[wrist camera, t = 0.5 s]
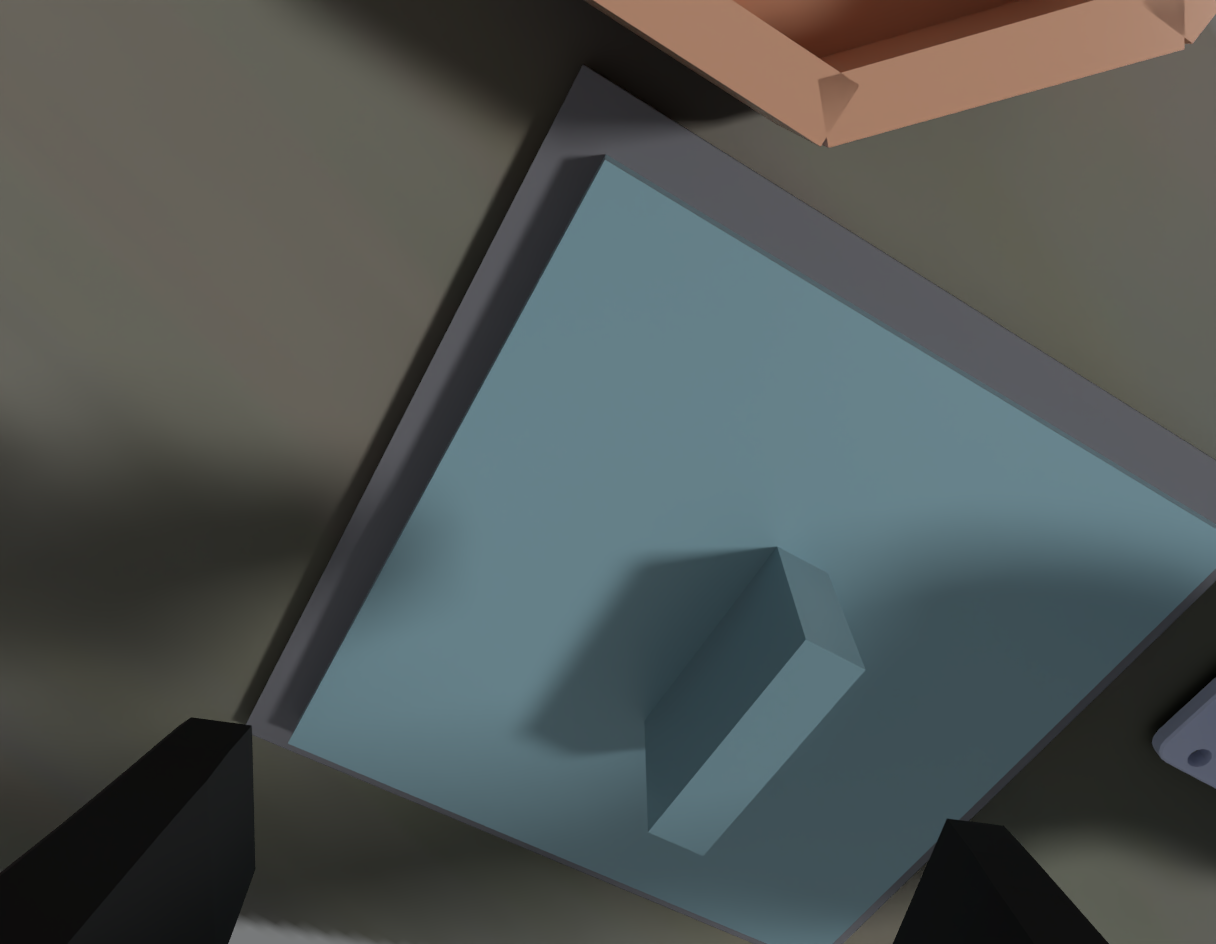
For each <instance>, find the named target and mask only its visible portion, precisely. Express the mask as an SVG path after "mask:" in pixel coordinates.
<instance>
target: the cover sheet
mask: <svg viewBox="0 0 1216 944" xmlns="http://www.w3.org/2000/svg"><path fill="white" fill-rule="evenodd" d="M1215 569H1216V524H1215V523H1213V522H1212V521H1210V520H1208V519H1207V518H1205V517H1203V516H1202V515H1200V514H1198V513H1197V512H1195V511H1193V510H1192V509H1190V508H1188V507H1187V506H1185V505H1184V504H1182V503H1180V502H1179V501H1177V500H1175V499H1174V498H1172V497H1170V496H1169V495H1167V494H1165V493H1164V492H1162V491H1160V490H1159V489H1157V488H1155V487H1154V486H1152V485H1151V484H1149V483H1147V482H1146V481H1144V480H1142V479H1141V478H1139V477H1137V476H1136V475H1134V474H1132V473H1131V472H1129V471H1127V470H1126V469H1124V468H1122V467H1121V466H1119V465H1118V464H1116V463H1114V462H1113V461H1111V460H1109V459H1108V458H1106V457H1104V456H1103V455H1101V454H1099V453H1098V452H1096V451H1094V450H1093V449H1091V448H1090V447H1088V446H1086V445H1085V444H1083V443H1081V442H1080V441H1078V440H1076V439H1075V438H1073V437H1071V436H1070V435H1068V434H1066V433H1065V432H1063V431H1061V430H1060V429H1058V428H1057V427H1055V426H1053V425H1052V424H1050V423H1048V422H1047V421H1045V420H1043V419H1042V418H1040V417H1038V416H1037V415H1035V414H1033V413H1032V412H1030V411H1028V410H1027V409H1025V408H1024V407H1022V406H1020V405H1019V404H1017V403H1015V402H1014V401H1012V400H1010V399H1009V398H1007V397H1005V396H1004V395H1002V394H1000V393H999V392H997V391H995V390H994V389H992V388H991V387H989V386H987V385H986V384H984V383H982V382H981V381H979V380H977V379H976V378H974V377H972V376H971V375H969V374H967V373H966V372H964V371H963V370H961V369H959V368H958V367H956V366H954V365H953V364H951V363H949V362H948V361H946V360H944V359H943V358H941V357H939V356H938V355H936V354H934V353H933V352H931V351H930V350H928V349H926V348H925V347H923V346H921V345H920V344H918V343H916V342H915V341H913V340H911V339H910V338H908V337H906V336H905V335H903V334H901V333H900V332H898V331H897V330H895V329H893V328H892V327H890V326H888V325H887V324H885V323H883V322H882V321H880V320H878V319H877V318H875V317H873V316H872V315H870V314H868V313H867V312H865V311H864V310H862V309H860V308H859V307H857V306H855V305H854V304H852V303H850V302H849V301H847V300H845V299H844V298H842V297H840V296H839V295H837V294H836V293H834V292H832V291H831V290H829V289H827V288H826V287H824V286H822V285H821V284H819V283H817V282H816V281H814V280H812V279H811V278H809V277H807V276H806V275H804V274H803V273H801V272H799V271H798V270H796V269H794V268H793V267H791V266H789V265H788V264H786V263H784V262H783V261H781V260H779V259H778V258H776V257H774V256H773V255H771V254H770V253H768V252H766V251H765V250H763V249H761V248H760V247H758V246H756V245H755V244H753V243H751V242H750V241H748V240H746V239H745V238H743V237H741V236H740V235H738V234H737V233H735V232H733V231H732V230H730V229H728V228H727V227H725V226H723V225H722V224H720V223H718V222H717V221H715V220H713V219H712V218H710V217H709V216H707V215H705V214H704V213H702V212H700V211H699V210H697V209H695V208H694V207H692V206H690V205H689V204H687V203H685V202H684V201H682V200H680V199H679V198H677V197H676V196H674V195H672V194H671V193H669V192H667V191H666V190H664V189H662V188H661V187H659V186H657V185H656V184H654V183H652V182H651V181H649V180H647V179H646V178H644V177H643V176H641V175H639V174H638V173H636V172H634V171H633V170H631V169H629V168H628V167H626V166H624V165H623V164H621V163H619V162H618V161H616V160H614V159H613V158H611V157H610V156H608V155H605V157H604V158H603V160H602V162H601V164H600V166H599V168H598V169H597V171H596V173H595V175H594V177H593V179H592V181H591V182H590V184H589V186H588V188H587V190H586V192H585V193H584V195H583V197H582V199H581V201H580V203H579V204H578V206H577V208H576V210H575V212H574V214H573V216H572V217H571V219H570V221H569V223H568V225H567V227H566V228H565V230H564V232H563V234H562V236H561V238H560V239H559V241H558V243H557V245H556V247H555V249H554V251H553V252H552V254H551V256H550V258H549V260H548V262H547V263H546V265H545V267H544V269H543V271H542V273H541V275H540V276H539V278H538V280H537V282H536V284H535V286H534V287H533V289H532V291H531V293H530V295H529V297H528V298H527V300H526V302H525V304H524V306H523V308H522V310H521V311H520V313H519V315H518V317H517V319H516V321H515V322H514V324H513V326H512V328H511V330H510V332H509V334H508V335H507V337H506V339H505V341H504V343H503V345H502V346H501V348H500V350H499V352H498V354H497V356H496V357H495V359H494V361H493V363H492V365H491V367H490V369H489V370H488V372H487V374H486V376H485V378H484V380H483V381H482V383H481V385H480V387H479V389H478V391H477V393H476V394H475V396H474V398H473V400H472V402H471V404H470V405H469V407H468V409H467V411H466V413H465V415H464V416H463V418H462V420H461V422H460V424H459V426H458V428H457V429H456V431H455V433H454V435H453V437H452V439H451V440H450V442H449V444H448V446H447V448H446V450H445V452H444V453H443V455H442V457H441V459H440V461H439V463H438V464H437V466H436V468H435V470H434V472H433V474H432V475H431V477H430V479H429V481H428V483H427V485H426V487H425V488H424V490H423V492H422V494H421V496H420V498H419V499H418V501H417V503H416V505H415V507H414V509H413V511H412V512H411V514H410V516H409V518H408V520H407V522H406V523H405V525H404V527H403V529H402V531H401V533H400V534H399V536H398V538H397V540H396V542H395V544H394V546H393V547H392V549H391V551H390V553H389V555H388V557H387V558H386V560H385V562H384V564H383V566H382V568H381V570H380V571H379V573H378V575H377V577H376V579H375V581H374V582H373V584H372V586H371V588H370V590H369V592H368V593H367V595H366V597H365V599H364V601H363V603H362V605H361V606H360V608H359V610H358V612H357V614H356V616H355V617H354V619H353V621H352V623H351V625H350V627H349V629H348V630H347V632H346V634H345V636H344V638H343V640H342V641H341V643H340V645H339V647H338V649H337V651H336V652H335V654H334V656H333V658H332V660H331V662H330V664H329V665H328V667H327V669H326V671H325V673H324V675H323V676H322V678H321V680H320V682H319V684H318V686H317V688H316V689H315V691H314V693H313V695H312V697H311V699H310V700H309V702H308V704H307V706H306V708H305V710H304V711H303V713H302V715H301V717H300V719H299V721H298V723H297V725H296V727H295V729H294V731H293V733H292V736H291V738H290V740H289V742H288V744H290V745H293V746H295V747H297V748H300V749H302V750H305V751H307V752H309V753H312V754H314V755H317V756H319V757H321V758H324V759H326V760H328V761H331V762H333V763H336V764H338V765H340V766H343V767H345V768H348V769H350V770H352V771H355V772H357V773H360V774H362V775H364V776H367V777H369V778H372V779H374V780H376V781H379V782H381V783H384V784H386V785H388V786H391V787H393V788H395V789H398V790H400V791H403V792H405V793H407V794H410V795H412V796H415V797H417V798H419V799H422V800H424V801H427V802H429V803H431V804H434V805H436V806H439V807H441V808H443V809H446V810H448V811H451V812H453V813H455V814H458V815H460V816H463V817H465V818H467V819H470V820H472V821H474V822H477V823H479V824H482V825H484V826H486V827H489V828H491V829H494V830H496V831H498V832H501V833H503V834H506V835H508V836H510V837H513V838H515V839H518V840H520V841H522V842H525V843H527V844H530V845H532V846H534V847H537V848H539V849H541V850H544V851H546V852H549V853H551V854H553V855H556V856H558V857H561V858H563V859H565V860H568V861H570V862H573V863H575V864H577V865H580V866H582V867H585V868H587V869H589V870H592V871H594V872H597V873H599V874H601V875H604V876H606V877H608V878H611V879H613V880H616V881H618V882H620V883H623V884H625V885H628V886H630V887H632V888H635V889H637V890H640V891H642V892H644V893H647V894H649V895H652V896H654V897H656V898H659V899H661V900H664V901H666V902H668V903H671V904H673V905H675V906H678V907H680V908H683V909H685V910H687V911H690V912H692V913H695V914H697V915H699V916H702V917H704V918H707V919H709V920H711V921H714V922H716V923H719V924H721V925H723V926H726V927H728V928H731V929H733V930H735V931H738V932H740V933H742V934H745V935H747V936H750V937H752V938H754V939H757V940H759V941H762V942H764V943H766V944H833V943H834V942H835V941H836V940H837V939H838V938H839V937H840V936H841V935H842V934H843V933H844V932H845V931H846V930H847V929H848V928H849V927H850V926H851V925H852V924H853V923H854V922H855V921H856V920H857V919H858V918H859V917H860V916H861V915H862V914H863V913H864V912H865V911H866V910H867V909H868V908H870V907H871V906H872V905H873V904H874V903H875V902H876V901H877V900H878V899H879V898H880V897H881V896H882V895H883V894H884V893H885V892H886V891H887V890H888V889H889V888H890V887H891V886H892V885H893V884H894V883H895V882H896V881H897V880H898V879H899V878H900V877H901V876H902V875H903V874H904V873H905V872H906V871H907V870H908V869H909V868H910V867H911V866H912V865H913V864H914V863H915V862H917V861H918V860H919V859H920V858H921V857H922V856H923V855H924V854H925V853H926V852H927V851H928V850H929V849H930V848H931V847H932V846H933V845H934V844H935V843H936V842H937V840H938V838H939V835H940V833H941V831H942V828H943V826H944V824H945V822H946V819H955V820H959V819H960V818H961V817H962V816H964V815H965V814H966V813H967V812H968V811H969V810H970V809H971V808H972V807H973V806H974V805H975V804H976V803H977V802H978V801H979V800H980V799H981V798H982V797H983V796H984V795H985V794H986V793H987V792H988V791H989V790H990V789H991V788H992V787H993V786H994V785H995V784H996V783H997V782H998V781H999V780H1000V779H1001V778H1002V777H1003V776H1004V775H1005V774H1006V773H1007V772H1008V771H1009V770H1010V769H1012V768H1013V767H1014V766H1015V765H1016V764H1017V763H1018V762H1019V761H1020V760H1021V759H1022V758H1023V757H1024V756H1025V755H1026V754H1027V753H1028V752H1029V751H1030V750H1031V749H1032V748H1033V747H1034V746H1035V745H1036V744H1037V743H1038V742H1039V741H1040V740H1041V739H1042V738H1043V737H1044V736H1045V735H1046V734H1047V733H1048V732H1049V731H1050V730H1051V729H1052V728H1053V727H1054V726H1055V725H1056V724H1057V723H1059V722H1060V721H1061V720H1062V719H1063V718H1064V717H1065V716H1066V715H1067V714H1068V713H1069V712H1070V711H1071V710H1072V709H1073V708H1074V707H1075V706H1076V705H1077V704H1078V703H1079V702H1080V701H1081V700H1082V699H1083V698H1084V697H1085V696H1086V695H1087V694H1088V693H1089V692H1090V691H1091V690H1092V689H1093V688H1094V687H1095V686H1096V685H1097V684H1098V683H1099V682H1100V681H1101V680H1102V679H1103V678H1104V677H1105V676H1107V675H1108V674H1109V673H1110V672H1111V671H1112V670H1113V669H1114V668H1115V667H1116V666H1117V665H1118V664H1119V663H1120V662H1121V661H1122V660H1123V659H1124V658H1125V657H1126V656H1127V655H1128V654H1129V653H1130V652H1131V651H1132V650H1133V649H1134V648H1135V647H1136V646H1137V645H1138V644H1139V643H1140V642H1141V641H1142V640H1143V639H1144V638H1145V637H1146V636H1147V635H1148V634H1149V633H1150V632H1151V631H1152V630H1154V629H1155V628H1156V627H1157V626H1158V625H1159V624H1160V623H1161V622H1162V621H1163V620H1164V619H1165V618H1166V617H1167V616H1168V615H1169V614H1170V613H1171V612H1172V611H1173V610H1174V609H1175V608H1176V607H1177V606H1178V605H1179V604H1180V603H1181V602H1182V601H1183V600H1184V599H1185V598H1186V597H1187V596H1188V595H1189V594H1190V593H1191V592H1192V591H1193V590H1194V589H1195V588H1196V587H1197V586H1198V585H1199V584H1200V583H1202V582H1203V581H1204V580H1205V579H1206V578H1207V577H1208V576H1209V575H1210V574H1211V573H1212V572H1213V571H1214V570H1215Z"/></svg>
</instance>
